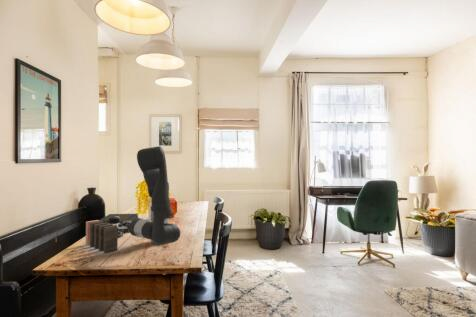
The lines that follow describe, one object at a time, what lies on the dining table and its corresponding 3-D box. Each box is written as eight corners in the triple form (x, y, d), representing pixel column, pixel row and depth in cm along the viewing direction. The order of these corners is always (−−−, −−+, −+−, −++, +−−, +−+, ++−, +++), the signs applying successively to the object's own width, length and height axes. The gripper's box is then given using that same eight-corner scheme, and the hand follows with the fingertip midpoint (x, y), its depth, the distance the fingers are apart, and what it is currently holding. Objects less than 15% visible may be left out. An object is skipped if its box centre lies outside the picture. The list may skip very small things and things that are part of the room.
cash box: (130, 233, 183) (130, 220, 183) (95, 234, 181) (95, 221, 181) (139, 224, 208) (139, 213, 208) (108, 225, 205) (109, 213, 205)
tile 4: (103, 245, 155) (103, 221, 155) (91, 247, 150) (91, 223, 150) (101, 244, 156) (101, 221, 156) (89, 246, 151) (89, 223, 151)
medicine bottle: (116, 240, 166) (116, 218, 166) (104, 239, 168) (104, 217, 168) (123, 236, 173) (123, 216, 173) (112, 236, 175) (112, 215, 175)
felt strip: (122, 251, 146) (122, 250, 146) (102, 256, 138) (102, 255, 138) (99, 242, 162) (99, 241, 162) (80, 246, 154) (80, 245, 154)
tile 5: (99, 243, 158) (99, 220, 158) (87, 245, 153) (87, 222, 153) (97, 242, 159) (97, 220, 159) (85, 245, 154) (85, 221, 154)
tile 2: (112, 248, 149) (112, 224, 149) (100, 251, 144) (100, 226, 144) (110, 247, 150) (110, 223, 150) (98, 250, 145) (98, 225, 145)
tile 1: (117, 250, 145) (117, 225, 145) (105, 253, 141) (105, 227, 141) (115, 249, 147) (115, 225, 147) (103, 252, 142) (103, 227, 142)
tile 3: (107, 246, 152) (107, 223, 152) (95, 249, 147) (96, 224, 147) (106, 246, 153) (106, 222, 153) (94, 248, 148) (94, 224, 148)
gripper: (156, 217, 131) (134, 213, 142) (128, 221, 121) (107, 216, 132) (155, 234, 131) (134, 229, 142) (127, 240, 121) (107, 233, 132)
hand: (121, 223), depth 137 cm, fingers closed
